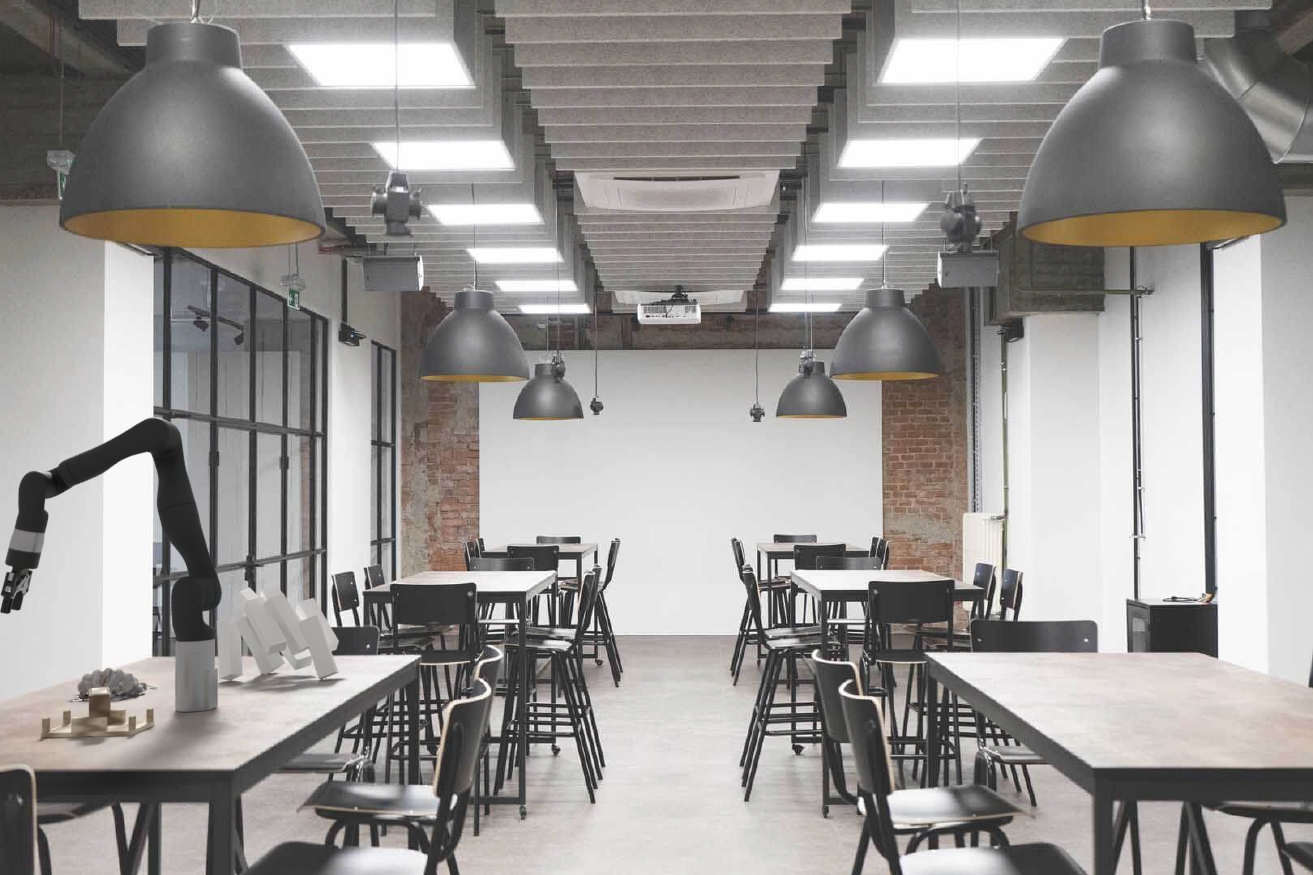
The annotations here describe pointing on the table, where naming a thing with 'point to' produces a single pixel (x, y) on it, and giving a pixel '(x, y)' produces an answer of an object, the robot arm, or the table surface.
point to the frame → (99, 702)
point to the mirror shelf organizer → (98, 725)
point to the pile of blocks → (275, 635)
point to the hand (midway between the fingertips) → (10, 611)
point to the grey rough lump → (112, 684)
